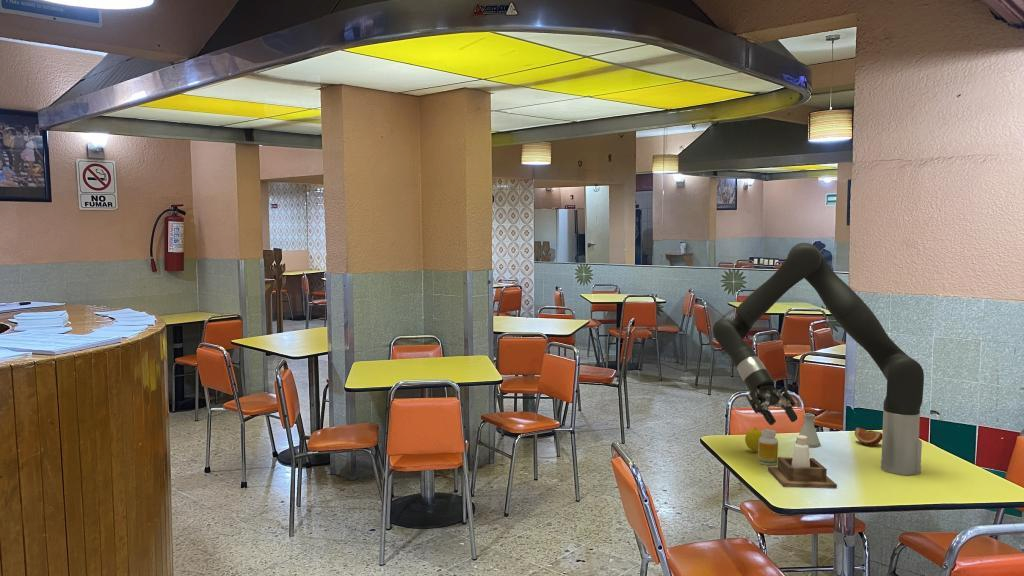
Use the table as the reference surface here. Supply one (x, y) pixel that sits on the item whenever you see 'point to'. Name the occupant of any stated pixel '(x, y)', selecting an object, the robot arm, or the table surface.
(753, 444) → the fruit
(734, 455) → the table surface
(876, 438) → the fruit slice
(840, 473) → the table surface
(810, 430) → the flask
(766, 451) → the supplement bottle
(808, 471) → the socket cup
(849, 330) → the robot arm
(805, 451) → the pepper shaker
